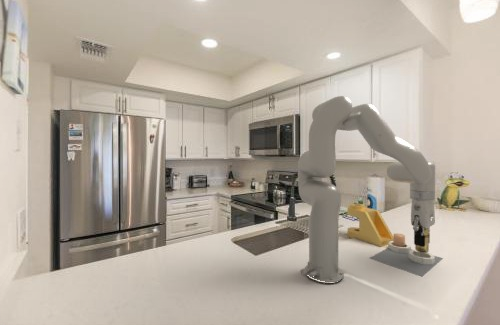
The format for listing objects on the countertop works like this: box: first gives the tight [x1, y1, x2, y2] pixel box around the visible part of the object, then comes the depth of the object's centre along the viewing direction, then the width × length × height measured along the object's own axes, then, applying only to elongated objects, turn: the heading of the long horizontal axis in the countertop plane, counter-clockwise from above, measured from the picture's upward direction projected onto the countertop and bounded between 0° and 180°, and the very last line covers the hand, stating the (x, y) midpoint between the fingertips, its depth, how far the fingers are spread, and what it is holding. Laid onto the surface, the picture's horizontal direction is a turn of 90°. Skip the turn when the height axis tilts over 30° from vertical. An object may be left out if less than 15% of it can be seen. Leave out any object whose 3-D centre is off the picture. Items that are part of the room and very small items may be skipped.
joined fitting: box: [387, 233, 412, 253], centre depth 96 cm, size 7×7×6 cm
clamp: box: [346, 203, 394, 248], centre depth 110 cm, size 20×9×16 cm, turn 26°
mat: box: [369, 247, 444, 277], centre depth 88 cm, size 22×17×1 cm
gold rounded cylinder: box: [414, 225, 430, 253], centre depth 86 cm, size 4×4×10 cm
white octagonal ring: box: [409, 249, 436, 265], centre depth 86 cm, size 7×7×2 cm
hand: (421, 243), depth 86 cm, fingers closed on gold rounded cylinder, 4 cm apart
